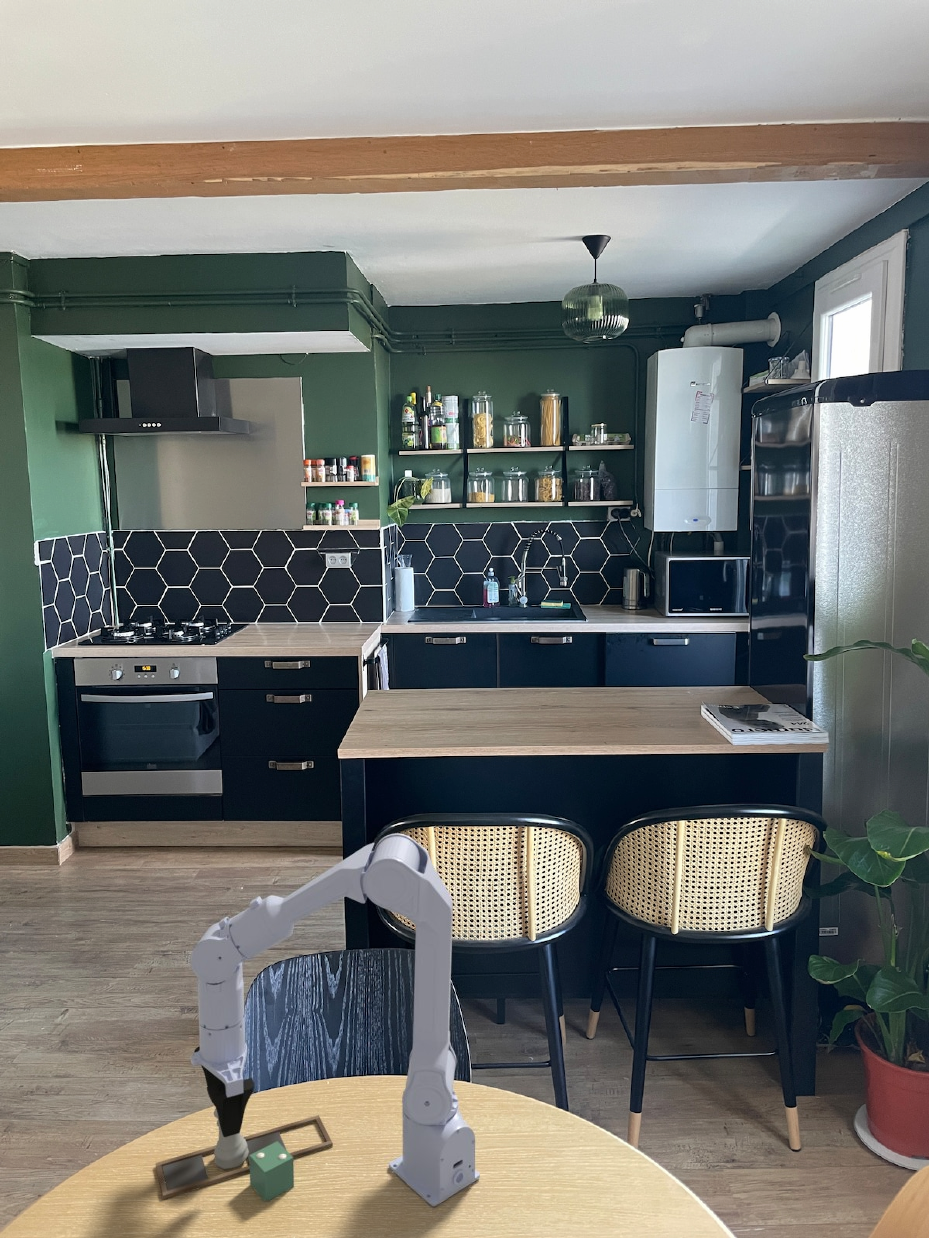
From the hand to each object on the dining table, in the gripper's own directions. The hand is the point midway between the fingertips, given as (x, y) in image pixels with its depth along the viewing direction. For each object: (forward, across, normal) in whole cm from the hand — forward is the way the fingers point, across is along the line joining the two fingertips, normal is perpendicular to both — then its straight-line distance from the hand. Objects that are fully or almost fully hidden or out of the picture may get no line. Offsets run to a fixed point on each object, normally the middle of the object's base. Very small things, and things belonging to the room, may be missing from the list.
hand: (225, 1115), depth 120 cm
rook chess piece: (+7, 0, +1) cm, 7 cm away
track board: (+7, 0, +2) cm, 7 cm away
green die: (+7, +7, +4) cm, 10 cm away
